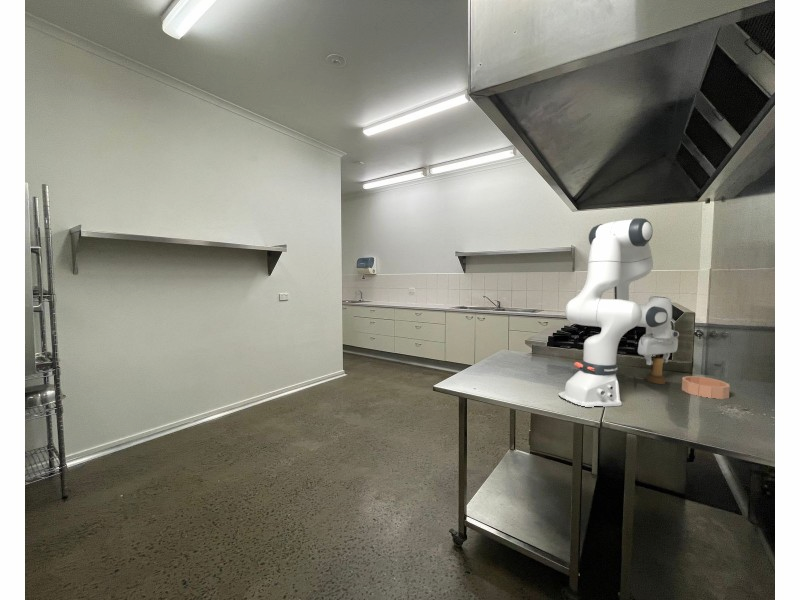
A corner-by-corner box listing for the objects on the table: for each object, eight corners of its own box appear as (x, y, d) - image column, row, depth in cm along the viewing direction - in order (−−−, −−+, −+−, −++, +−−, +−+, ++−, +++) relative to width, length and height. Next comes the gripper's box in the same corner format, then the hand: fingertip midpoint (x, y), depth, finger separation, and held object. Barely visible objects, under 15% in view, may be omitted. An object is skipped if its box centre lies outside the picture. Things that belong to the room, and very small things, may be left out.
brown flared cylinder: (669, 384, 145) (671, 343, 144) (654, 384, 145) (656, 343, 144) (657, 379, 151) (659, 340, 150) (643, 379, 152) (645, 340, 150)
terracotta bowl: (714, 400, 126) (714, 389, 125) (673, 388, 139) (674, 378, 138) (737, 396, 130) (738, 384, 130) (695, 385, 143) (696, 374, 143)
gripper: (649, 335, 140) (647, 367, 141) (681, 332, 147) (680, 363, 148) (634, 333, 146) (633, 364, 147) (666, 330, 153) (665, 359, 154)
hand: (656, 363), depth 148 cm, fingers open, 8 cm apart
